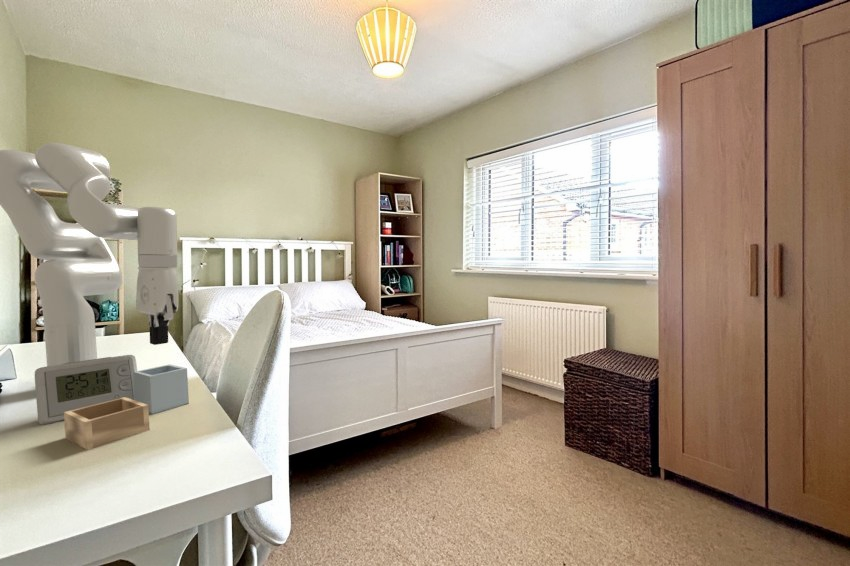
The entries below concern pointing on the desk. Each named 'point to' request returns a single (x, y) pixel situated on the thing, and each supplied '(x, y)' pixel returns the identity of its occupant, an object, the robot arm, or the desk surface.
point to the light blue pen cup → (161, 387)
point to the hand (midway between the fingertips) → (159, 343)
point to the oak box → (106, 422)
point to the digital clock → (82, 385)
